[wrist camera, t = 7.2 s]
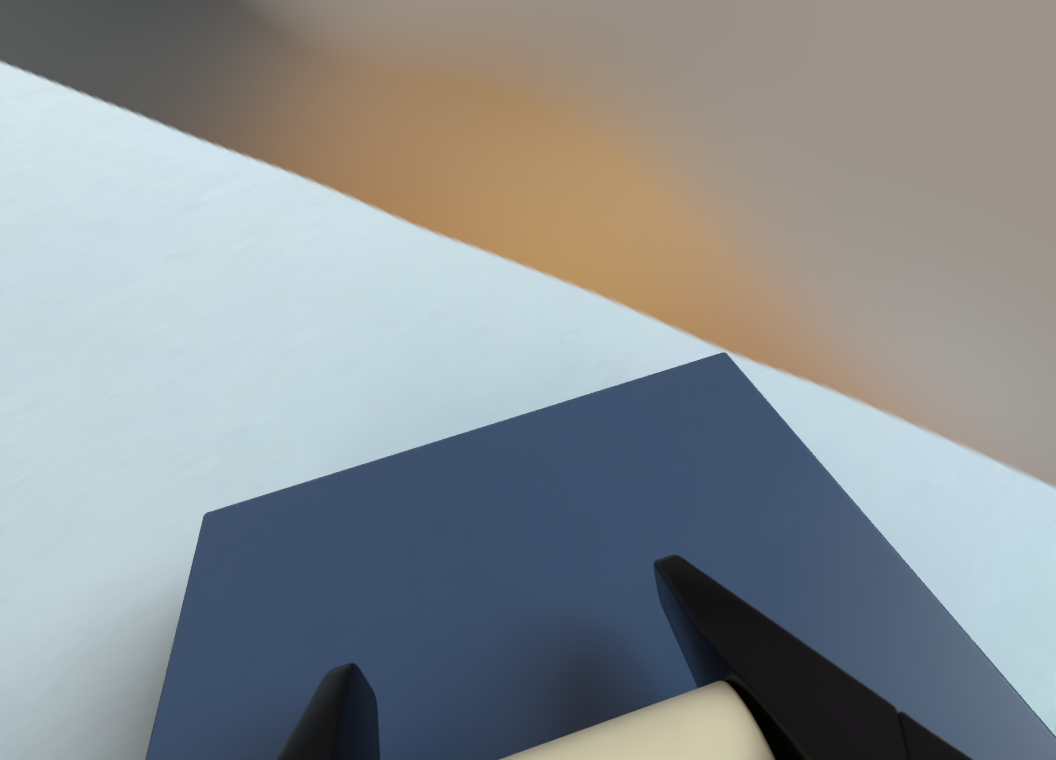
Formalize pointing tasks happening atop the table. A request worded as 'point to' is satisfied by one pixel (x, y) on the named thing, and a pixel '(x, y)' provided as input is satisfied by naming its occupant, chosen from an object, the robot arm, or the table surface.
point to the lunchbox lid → (562, 591)
